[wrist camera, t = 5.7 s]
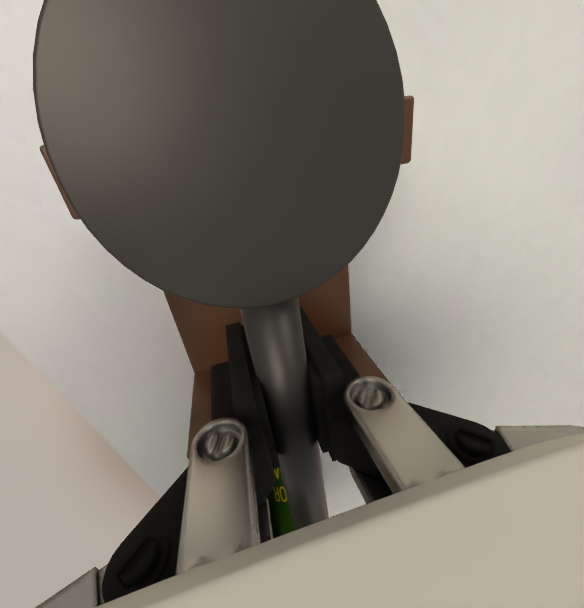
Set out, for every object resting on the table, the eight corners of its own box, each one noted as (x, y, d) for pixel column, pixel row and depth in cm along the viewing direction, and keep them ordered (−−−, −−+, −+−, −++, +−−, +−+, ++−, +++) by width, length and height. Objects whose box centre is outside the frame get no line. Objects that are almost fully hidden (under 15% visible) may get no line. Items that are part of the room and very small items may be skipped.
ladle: (262, 568, 14) (270, 627, 12) (26, -14, 4) (-93, -125, 3) (364, 528, 14) (386, 579, 13) (348, -30, 5) (419, -126, 3)
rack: (218, 425, 19) (220, 527, 14) (105, 119, 11) (5, 82, 6) (348, 388, 20) (395, 468, 15) (331, 90, 12) (418, 39, 7)
